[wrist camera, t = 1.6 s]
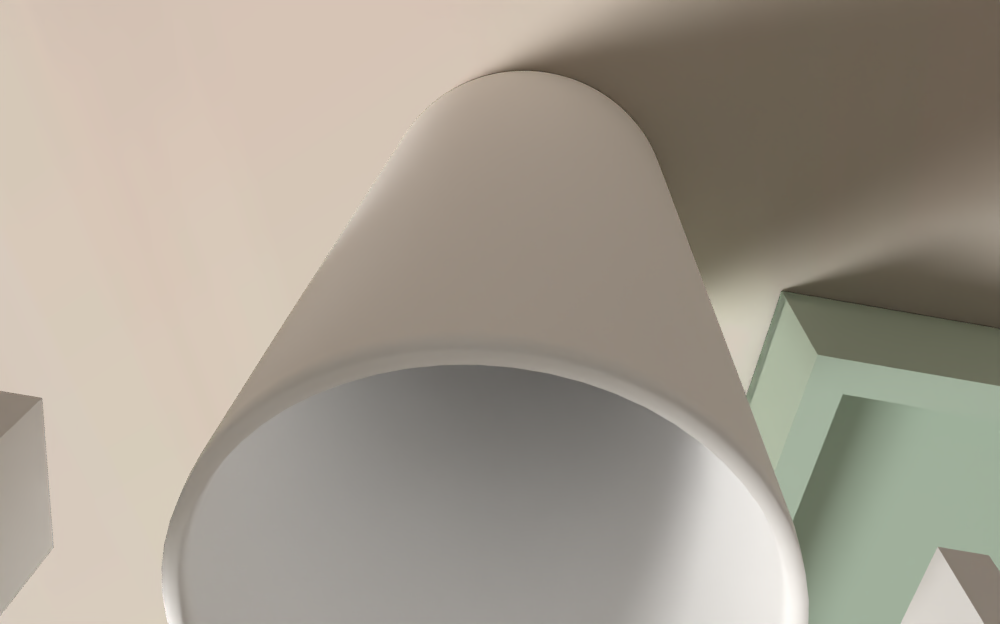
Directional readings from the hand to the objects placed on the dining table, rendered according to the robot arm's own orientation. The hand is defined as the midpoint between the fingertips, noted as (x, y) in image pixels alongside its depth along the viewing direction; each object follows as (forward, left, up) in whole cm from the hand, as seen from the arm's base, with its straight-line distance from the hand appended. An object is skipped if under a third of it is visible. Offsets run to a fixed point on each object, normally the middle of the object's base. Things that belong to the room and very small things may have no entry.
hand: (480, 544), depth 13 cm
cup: (0, 0, -14) cm, 14 cm away
